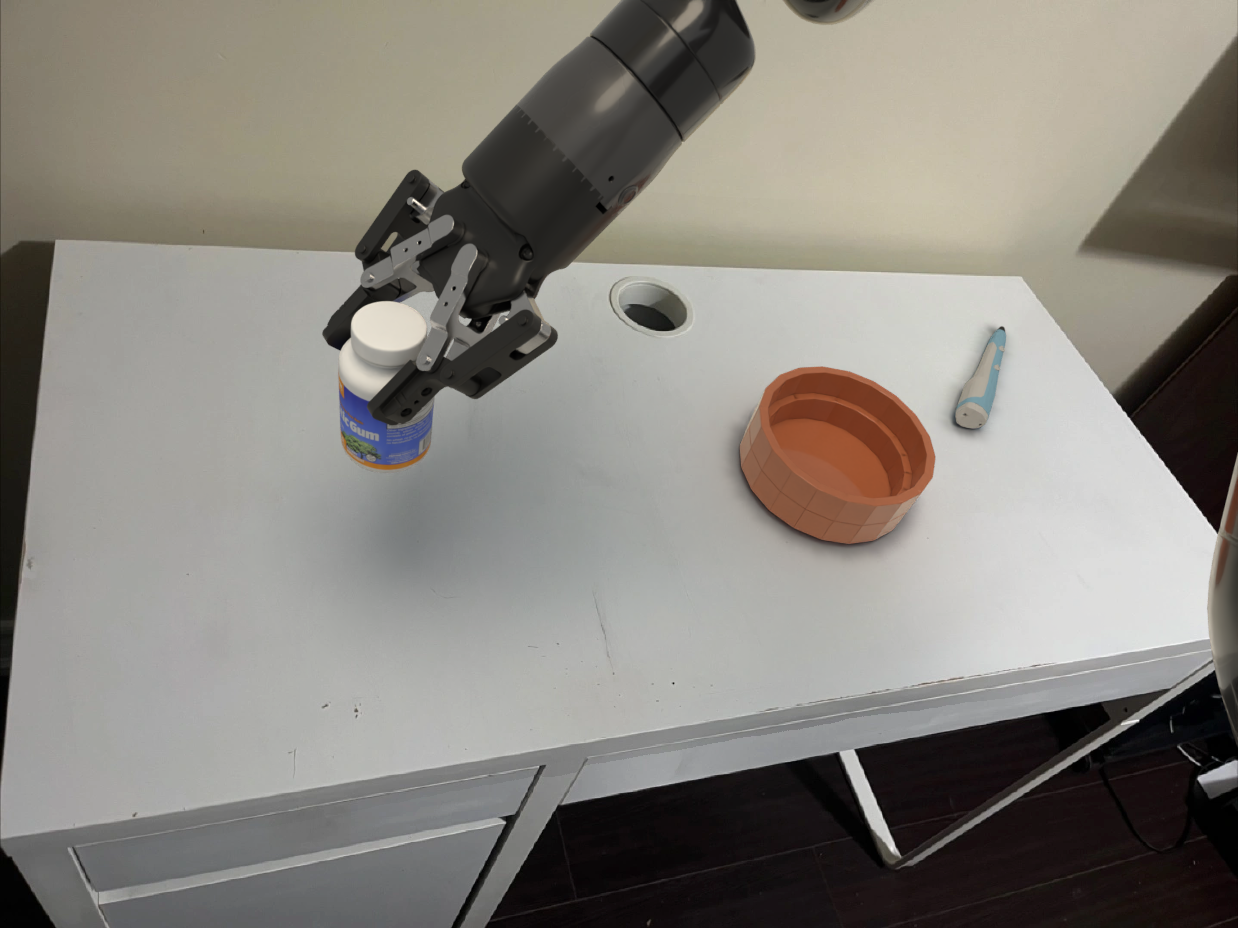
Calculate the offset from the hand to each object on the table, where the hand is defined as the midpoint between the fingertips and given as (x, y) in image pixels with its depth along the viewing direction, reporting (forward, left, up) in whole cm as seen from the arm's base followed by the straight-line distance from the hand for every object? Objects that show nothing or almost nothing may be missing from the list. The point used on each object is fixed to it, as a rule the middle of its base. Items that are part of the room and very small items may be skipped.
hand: (357, 380), depth 48 cm
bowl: (-20, -35, -19) cm, 45 cm away
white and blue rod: (-26, -61, -19) cm, 69 cm away
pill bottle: (-1, -2, -6) cm, 7 cm away
